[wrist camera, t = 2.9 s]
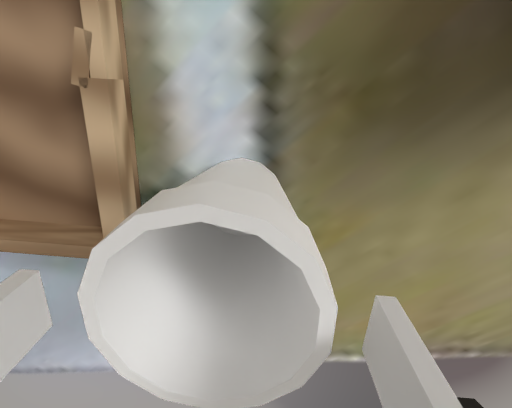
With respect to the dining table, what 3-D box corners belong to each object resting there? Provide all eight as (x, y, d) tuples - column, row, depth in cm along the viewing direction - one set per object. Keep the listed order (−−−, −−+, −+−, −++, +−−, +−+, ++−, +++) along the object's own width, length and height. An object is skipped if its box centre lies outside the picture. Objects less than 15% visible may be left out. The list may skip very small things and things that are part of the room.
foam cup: (211, 112, 21) (124, 151, 8) (325, 172, 22) (392, 281, 10) (165, 221, 24) (55, 359, 12) (265, 267, 25) (259, 436, 13)
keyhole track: (-143, -152, 16) (-258, -218, 13) (107, -142, 16) (59, -207, 12) (-20, 223, 25) (-68, 246, 21) (144, 236, 24) (122, 261, 21)
